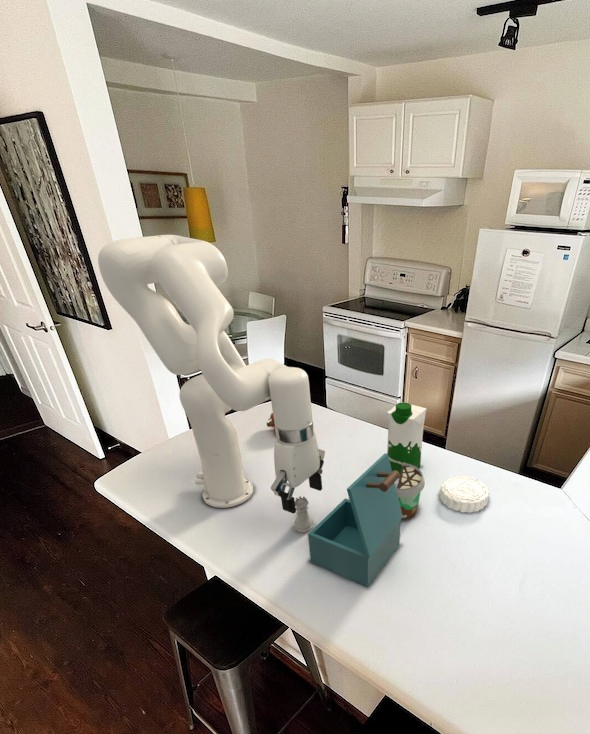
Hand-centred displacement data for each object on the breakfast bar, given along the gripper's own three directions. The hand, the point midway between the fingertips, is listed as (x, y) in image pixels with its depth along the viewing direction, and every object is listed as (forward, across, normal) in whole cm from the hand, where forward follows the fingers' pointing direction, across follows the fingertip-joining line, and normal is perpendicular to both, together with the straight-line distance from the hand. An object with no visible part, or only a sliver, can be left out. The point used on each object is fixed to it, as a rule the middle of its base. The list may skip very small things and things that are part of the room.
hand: (303, 499), depth 99 cm
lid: (-7, +1, +19) cm, 20 cm away
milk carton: (+9, -35, +8) cm, 37 cm away
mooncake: (+9, -30, +28) cm, 42 cm away
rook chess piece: (+8, 0, -1) cm, 9 cm away
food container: (+9, -18, +18) cm, 27 cm away
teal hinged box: (+9, +1, +14) cm, 17 cm away
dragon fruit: (+7, -35, -35) cm, 50 cm away
